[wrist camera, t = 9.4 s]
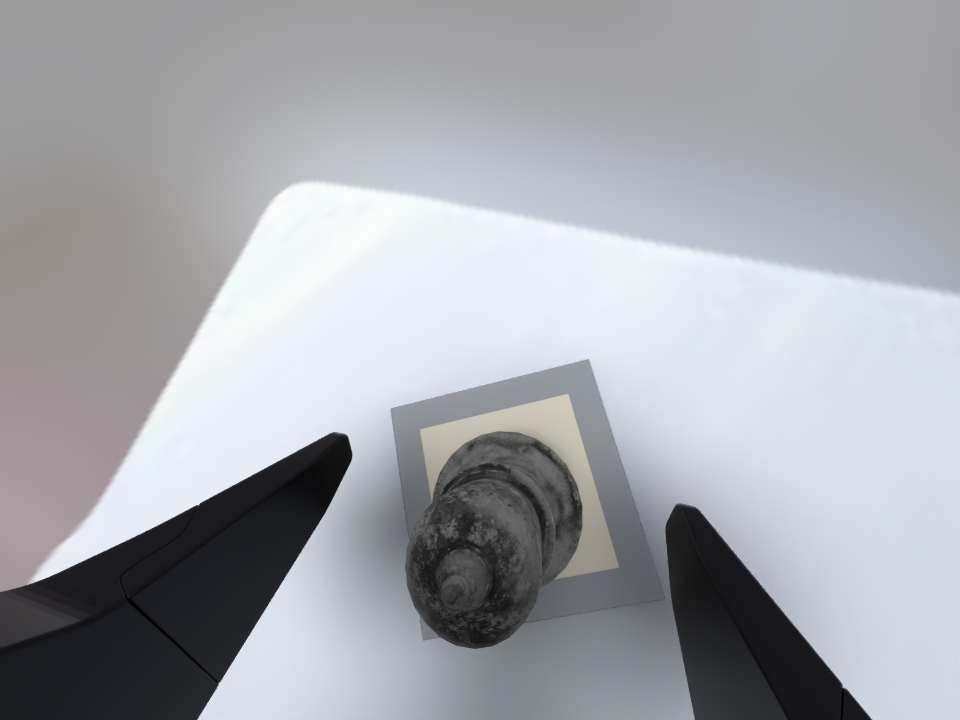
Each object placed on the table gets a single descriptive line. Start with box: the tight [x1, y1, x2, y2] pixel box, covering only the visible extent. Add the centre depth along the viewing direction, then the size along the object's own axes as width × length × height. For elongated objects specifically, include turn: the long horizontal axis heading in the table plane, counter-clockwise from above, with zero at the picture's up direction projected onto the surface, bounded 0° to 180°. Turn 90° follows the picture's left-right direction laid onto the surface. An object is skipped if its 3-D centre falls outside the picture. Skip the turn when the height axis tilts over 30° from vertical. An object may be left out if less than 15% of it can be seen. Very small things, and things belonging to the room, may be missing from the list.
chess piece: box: [405, 431, 583, 649], centre depth 11 cm, size 6×6×12 cm
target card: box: [391, 359, 665, 640], centre depth 17 cm, size 11×11×1 cm
